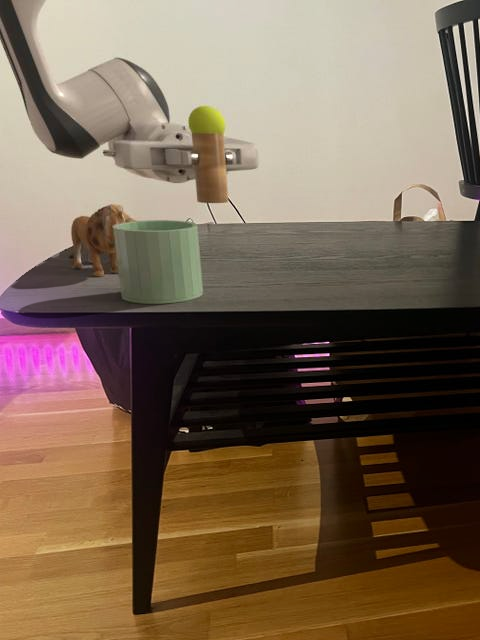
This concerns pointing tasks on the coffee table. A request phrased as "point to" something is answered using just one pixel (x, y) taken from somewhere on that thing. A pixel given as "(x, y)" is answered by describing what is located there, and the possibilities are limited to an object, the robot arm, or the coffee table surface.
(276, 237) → the coffee table surface
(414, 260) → the coffee table surface
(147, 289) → the green faceted pot
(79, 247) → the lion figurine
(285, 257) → the coffee table surface
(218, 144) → the ball peg
